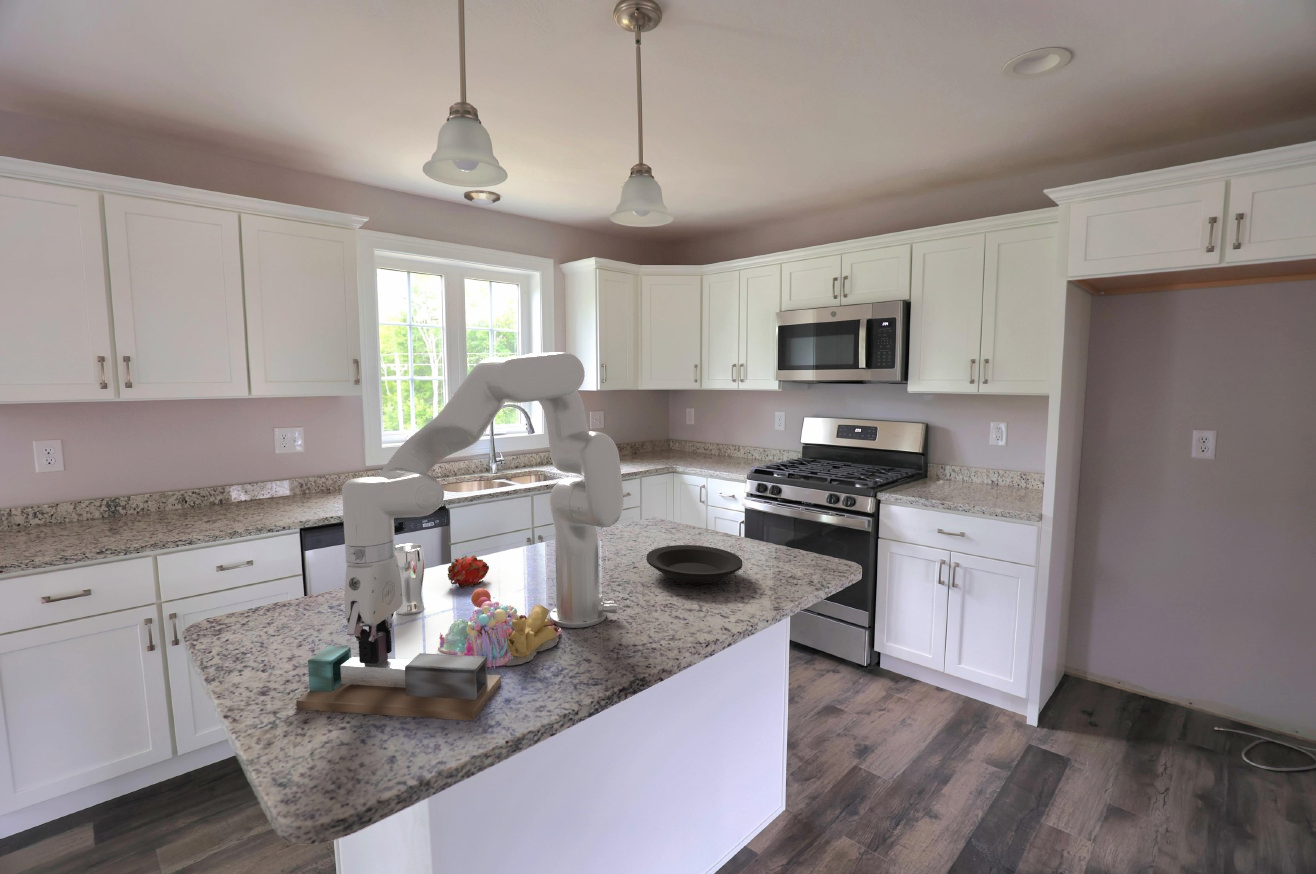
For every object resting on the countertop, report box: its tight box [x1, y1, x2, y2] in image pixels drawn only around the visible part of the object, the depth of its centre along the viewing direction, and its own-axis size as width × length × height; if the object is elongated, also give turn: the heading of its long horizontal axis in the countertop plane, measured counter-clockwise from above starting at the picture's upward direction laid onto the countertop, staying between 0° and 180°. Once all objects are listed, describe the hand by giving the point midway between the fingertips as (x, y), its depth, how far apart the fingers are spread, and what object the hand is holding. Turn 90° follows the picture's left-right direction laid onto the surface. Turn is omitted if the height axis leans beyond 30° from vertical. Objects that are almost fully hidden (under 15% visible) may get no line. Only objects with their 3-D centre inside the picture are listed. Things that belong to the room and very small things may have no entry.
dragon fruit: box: [447, 555, 490, 588], centre depth 162 cm, size 8×8×12 cm
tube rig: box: [295, 645, 502, 722], centre depth 105 cm, size 30×12×7 cm, turn 83°
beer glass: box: [395, 543, 425, 616], centre depth 143 cm, size 7×7×15 cm
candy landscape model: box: [437, 587, 562, 670], centre depth 126 cm, size 25×24×9 cm
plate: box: [646, 544, 743, 586], centre depth 166 cm, size 28×24×6 cm
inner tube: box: [340, 631, 413, 688], centre depth 105 cm, size 19×3×8 cm, turn 83°
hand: (376, 656), depth 105 cm, fingers closed on inner tube, 3 cm apart
